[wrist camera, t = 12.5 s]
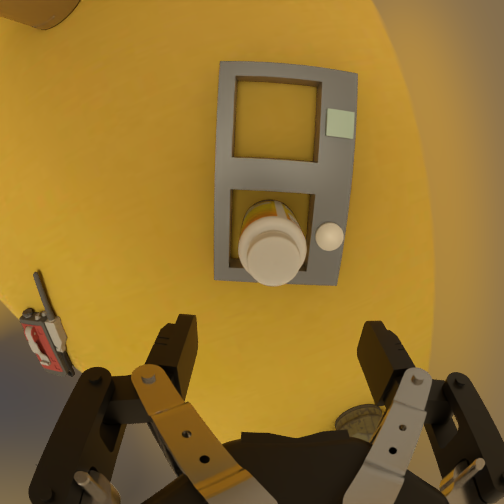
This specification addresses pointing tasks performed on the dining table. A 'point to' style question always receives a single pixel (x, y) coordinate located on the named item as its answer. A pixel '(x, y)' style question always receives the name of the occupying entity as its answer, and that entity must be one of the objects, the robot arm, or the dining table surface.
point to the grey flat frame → (290, 167)
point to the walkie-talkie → (47, 336)
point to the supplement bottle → (271, 243)
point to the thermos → (360, 421)
